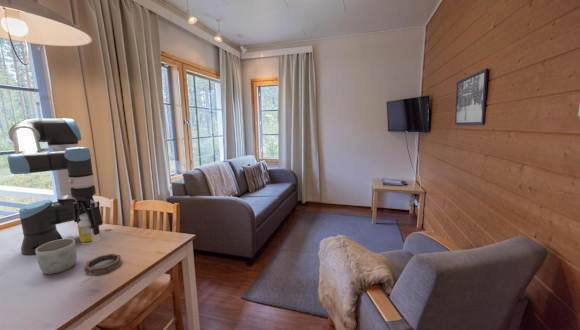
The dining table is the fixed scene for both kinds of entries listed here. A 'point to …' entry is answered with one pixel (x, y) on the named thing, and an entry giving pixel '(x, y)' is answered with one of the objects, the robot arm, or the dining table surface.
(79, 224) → the pill bottle
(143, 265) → the dining table surface
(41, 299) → the dining table surface
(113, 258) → the holder
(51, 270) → the planter
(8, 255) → the dining table surface
